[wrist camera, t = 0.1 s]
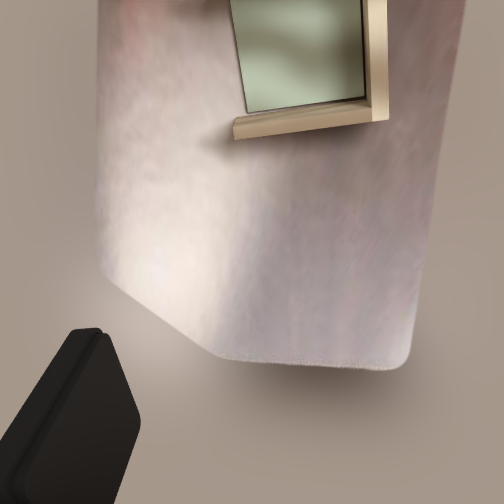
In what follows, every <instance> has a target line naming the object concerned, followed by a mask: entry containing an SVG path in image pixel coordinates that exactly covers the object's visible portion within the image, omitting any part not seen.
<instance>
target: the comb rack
mask: <svg viewBox="0 0 504 504" xmlns="http://www.w3.org/2000/svg"><path fill="white" fill-rule="evenodd" d="M230 4H231V10H232V17H233V23H234V29H235V35H236V41H237V48H238V54H239V60H240V66H241V72H242V79H243V85H244V91H245V97H246V103H247V110H248V112H255V111H262V110H269V109H276V108H283V107H290V106H297V105H304V104H311V103H318V102H325V101H332V100H339V99H346V98H353V97H360V96H364V79H363V56H362V34H361V12H360V0H230ZM363 23H364V46H365V70H366V93H367V99H362V100H355V101H348V102H341V103H334V104H327V105H320V106H313V107H306V108H299V109H292V110H285V111H278V112H271V113H264V114H257V115H250V116H243V117H237V118H236V120H235V122H234V125H233V127H232V128H233V133H234V139H235V140H239V139H246V138H254V137H261V136H268V135H276V134H283V133H291V132H298V131H305V130H313V129H320V128H328V127H335V126H342V125H350V124H357V123H365V122H372V121H379V120H387V119H389V92H388V45H387V0H363Z"/></svg>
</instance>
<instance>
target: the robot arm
mask: <svg viewBox="0 0 504 504" xmlns="http://www.w3.org/2000/svg"><path fill="white" fill-rule="evenodd" d="M140 423H141V420H140V414H139V411H138V409H137V406H136V404H135V401H134V398H133V396H132V393H131V390H130V388H129V385H128V383H127V380H126V378H125V375H124V372H123V370H122V367H121V364H120V362H119V359H118V356H117V354H116V351H115V349H114V346H113V343H112V341H111V338H110V336H109V335H108V334H106V333H103V332H102V330H101V329H99V328H86V329H75V330H72V331H71V332H70V333H69V335H68V337H67V338H66V340H65V341H64V343H63V344H62V346H61V347H60V349H59V351H58V352H57V354H56V355H55V357H54V358H53V360H52V361H51V363H50V365H49V366H48V368H47V369H46V371H45V372H44V374H43V375H42V377H41V378H40V380H39V381H38V383H37V385H36V386H35V388H34V389H33V391H32V392H31V394H30V395H29V397H28V398H27V400H26V402H25V403H24V405H23V406H22V408H21V409H20V411H19V412H18V414H17V416H16V417H15V419H14V420H13V422H12V423H11V425H10V426H9V428H8V429H7V431H6V432H5V434H4V435H3V437H2V439H1V440H0V504H114V502H115V499H116V496H117V493H118V490H119V487H120V484H121V482H122V479H123V476H124V473H125V470H126V468H127V465H128V462H129V459H130V456H131V453H132V450H133V448H134V445H135V442H136V439H137V436H138V433H139V430H140Z"/></svg>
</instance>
